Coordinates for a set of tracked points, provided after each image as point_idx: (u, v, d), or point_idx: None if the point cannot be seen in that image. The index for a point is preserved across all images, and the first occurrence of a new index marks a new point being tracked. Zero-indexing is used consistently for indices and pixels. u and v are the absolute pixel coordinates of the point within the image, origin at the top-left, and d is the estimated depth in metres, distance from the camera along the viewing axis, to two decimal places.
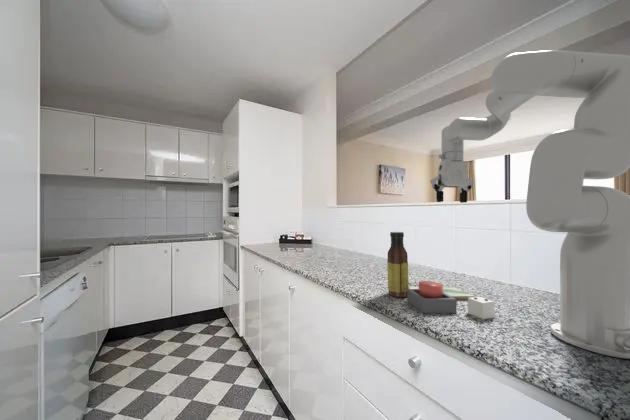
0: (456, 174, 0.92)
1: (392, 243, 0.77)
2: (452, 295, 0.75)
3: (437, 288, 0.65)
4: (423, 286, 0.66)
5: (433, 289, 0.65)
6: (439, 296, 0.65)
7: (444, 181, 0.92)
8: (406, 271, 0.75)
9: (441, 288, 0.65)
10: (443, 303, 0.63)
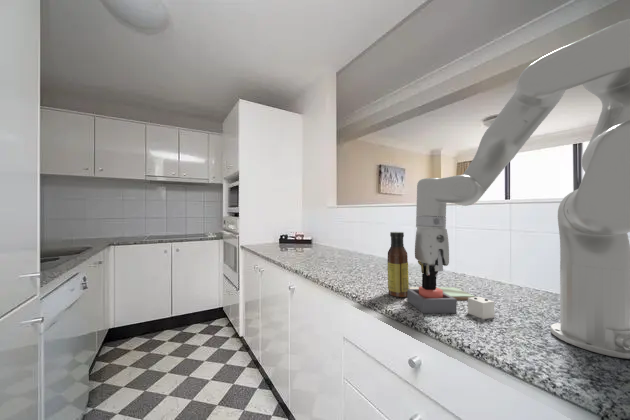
0: None
1: (392, 243, 0.77)
2: (452, 295, 0.75)
3: (437, 293, 0.65)
4: (423, 291, 0.66)
5: (433, 294, 0.65)
6: None
7: (448, 260, 0.64)
8: (406, 271, 0.75)
9: (441, 293, 0.65)
10: (443, 303, 0.63)
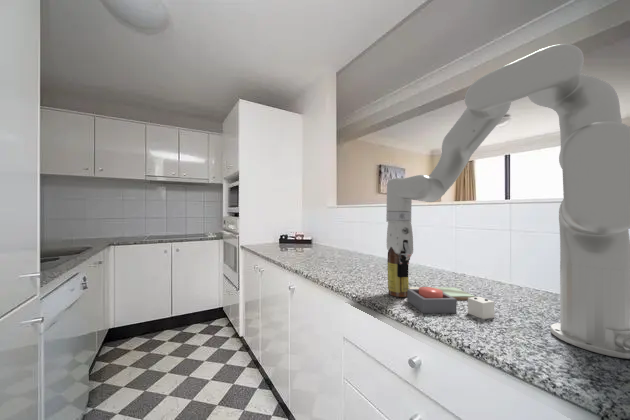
0: None
1: None
2: (452, 295, 0.75)
3: (437, 294, 0.65)
4: (423, 292, 0.66)
5: (433, 295, 0.65)
6: None
7: (412, 249, 0.73)
8: None
9: (441, 294, 0.65)
10: (443, 303, 0.63)
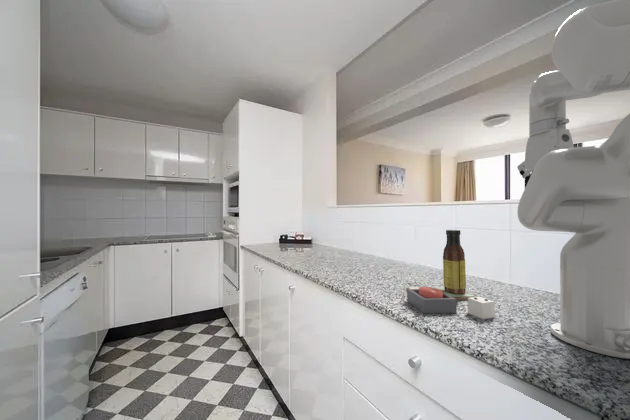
0: None
1: (449, 241, 0.78)
2: (452, 295, 0.75)
3: (437, 294, 0.65)
4: (423, 292, 0.66)
5: (433, 295, 0.65)
6: None
7: None
8: (464, 268, 0.76)
9: (441, 294, 0.65)
10: (443, 303, 0.63)
